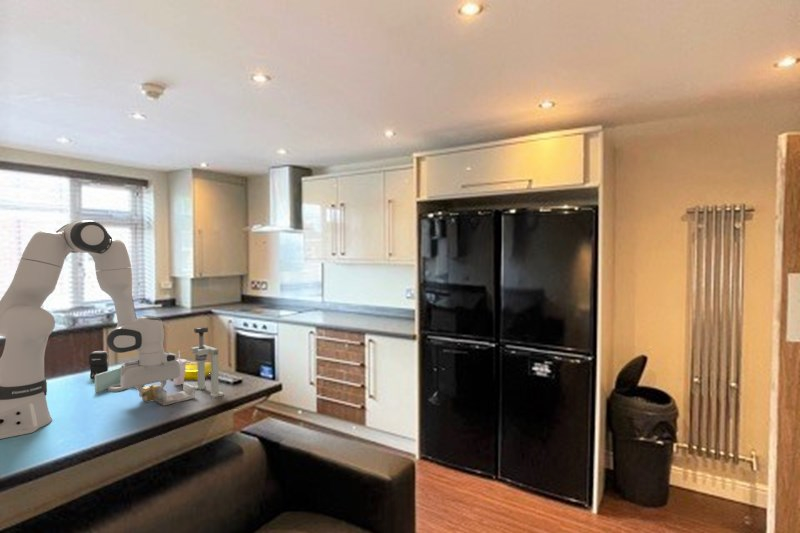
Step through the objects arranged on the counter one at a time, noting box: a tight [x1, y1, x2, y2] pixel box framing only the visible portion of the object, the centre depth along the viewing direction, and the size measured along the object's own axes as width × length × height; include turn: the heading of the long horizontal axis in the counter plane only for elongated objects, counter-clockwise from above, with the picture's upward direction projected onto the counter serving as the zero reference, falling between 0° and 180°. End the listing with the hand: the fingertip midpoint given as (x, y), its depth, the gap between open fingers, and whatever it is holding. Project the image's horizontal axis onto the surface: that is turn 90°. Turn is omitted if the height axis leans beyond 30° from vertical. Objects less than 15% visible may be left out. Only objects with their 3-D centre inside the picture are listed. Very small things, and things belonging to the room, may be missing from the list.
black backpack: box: [88, 350, 110, 379], centre depth 195 cm, size 7×4×11 cm, turn 100°
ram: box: [193, 326, 209, 362], centre depth 175 cm, size 5×5×12 cm
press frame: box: [190, 344, 225, 399], centre depth 176 cm, size 7×17×18 cm, turn 50°
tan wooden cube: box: [141, 383, 161, 403], centre depth 169 cm, size 5×5×5 cm
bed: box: [154, 382, 196, 407], centre depth 168 cm, size 12×8×5 cm, turn 140°
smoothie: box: [172, 350, 188, 386], centre depth 187 cm, size 6×6×14 cm
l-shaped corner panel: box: [94, 367, 145, 394], centre depth 180 cm, size 12×12×8 cm
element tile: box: [184, 361, 211, 381], centre depth 201 cm, size 15×15×5 cm
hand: (151, 394), depth 169 cm, fingers closed on tan wooden cube, 5 cm apart
